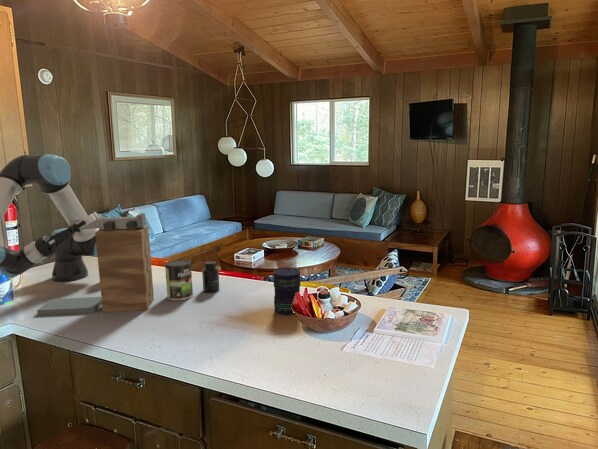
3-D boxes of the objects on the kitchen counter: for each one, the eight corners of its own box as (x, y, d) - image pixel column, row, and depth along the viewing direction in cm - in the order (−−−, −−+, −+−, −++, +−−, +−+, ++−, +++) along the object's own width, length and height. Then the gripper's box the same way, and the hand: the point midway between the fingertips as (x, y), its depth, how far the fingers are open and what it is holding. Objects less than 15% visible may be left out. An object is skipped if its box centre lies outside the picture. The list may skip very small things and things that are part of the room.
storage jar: (297, 316, 163) (297, 275, 161) (271, 314, 165) (270, 274, 163) (303, 306, 173) (302, 268, 170) (277, 305, 175) (276, 267, 172)
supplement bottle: (217, 292, 190) (216, 264, 188) (201, 293, 190) (199, 264, 188) (221, 287, 197) (219, 260, 195) (205, 287, 197) (203, 260, 195)
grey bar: (74, 227, 172) (73, 215, 171) (145, 225, 175) (145, 213, 174) (69, 230, 167) (68, 217, 166) (142, 227, 170) (141, 215, 169)
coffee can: (198, 295, 188) (196, 261, 185) (178, 302, 179) (175, 267, 177) (182, 290, 194) (180, 258, 191) (161, 297, 186) (159, 263, 183)
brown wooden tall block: (112, 301, 182) (104, 219, 176) (153, 299, 184) (147, 217, 178) (102, 312, 170) (94, 224, 164) (147, 309, 172) (140, 223, 166)
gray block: (51, 304, 180) (51, 299, 180) (104, 301, 182) (104, 296, 181) (37, 315, 168) (37, 310, 168) (94, 312, 170) (93, 307, 170)
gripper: (57, 251, 179) (108, 220, 179) (37, 263, 163) (93, 228, 162) (45, 235, 177) (96, 204, 177) (24, 245, 161) (80, 210, 161)
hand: (95, 215), depth 170 cm, fingers closed on grey bar, 3 cm apart
